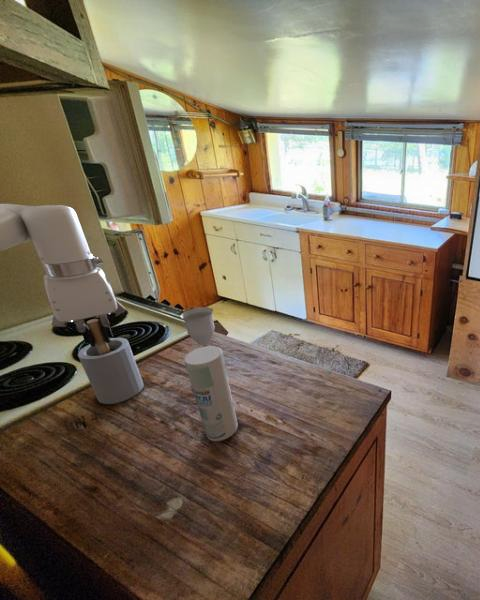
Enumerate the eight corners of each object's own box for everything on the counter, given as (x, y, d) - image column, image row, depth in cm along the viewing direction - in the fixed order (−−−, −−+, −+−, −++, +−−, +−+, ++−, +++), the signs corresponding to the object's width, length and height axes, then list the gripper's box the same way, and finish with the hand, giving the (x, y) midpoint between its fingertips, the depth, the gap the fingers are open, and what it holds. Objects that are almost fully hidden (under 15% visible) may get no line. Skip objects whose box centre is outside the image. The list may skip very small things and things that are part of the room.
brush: (100, 388, 78) (74, 326, 71) (111, 376, 82) (87, 317, 74) (121, 386, 79) (97, 325, 71) (131, 375, 82) (109, 316, 75)
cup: (88, 405, 77) (67, 360, 71) (111, 381, 85) (93, 339, 79) (132, 401, 78) (114, 357, 73) (150, 378, 86) (135, 336, 81)
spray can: (245, 423, 74) (229, 349, 65) (222, 445, 68) (202, 367, 60) (222, 415, 76) (203, 343, 67) (198, 437, 70) (175, 360, 61)
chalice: (221, 359, 95) (208, 304, 87) (229, 370, 91) (217, 313, 83) (193, 369, 90) (177, 312, 83) (200, 381, 86) (184, 322, 78)
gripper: (118, 256, 75) (141, 325, 83) (17, 269, 65) (53, 346, 73) (121, 265, 70) (145, 338, 78) (11, 280, 60) (51, 362, 68)
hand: (100, 341), depth 75 cm, fingers closed on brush, 2 cm apart
